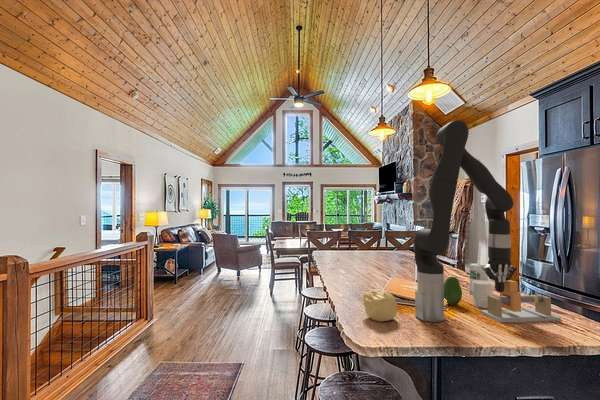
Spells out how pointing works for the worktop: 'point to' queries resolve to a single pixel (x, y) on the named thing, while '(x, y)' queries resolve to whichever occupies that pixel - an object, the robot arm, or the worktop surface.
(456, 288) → the avocado
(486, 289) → the white cup
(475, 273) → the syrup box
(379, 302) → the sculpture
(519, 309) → the collar
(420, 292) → the robot arm
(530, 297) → the pipe stand
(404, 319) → the worktop surface
